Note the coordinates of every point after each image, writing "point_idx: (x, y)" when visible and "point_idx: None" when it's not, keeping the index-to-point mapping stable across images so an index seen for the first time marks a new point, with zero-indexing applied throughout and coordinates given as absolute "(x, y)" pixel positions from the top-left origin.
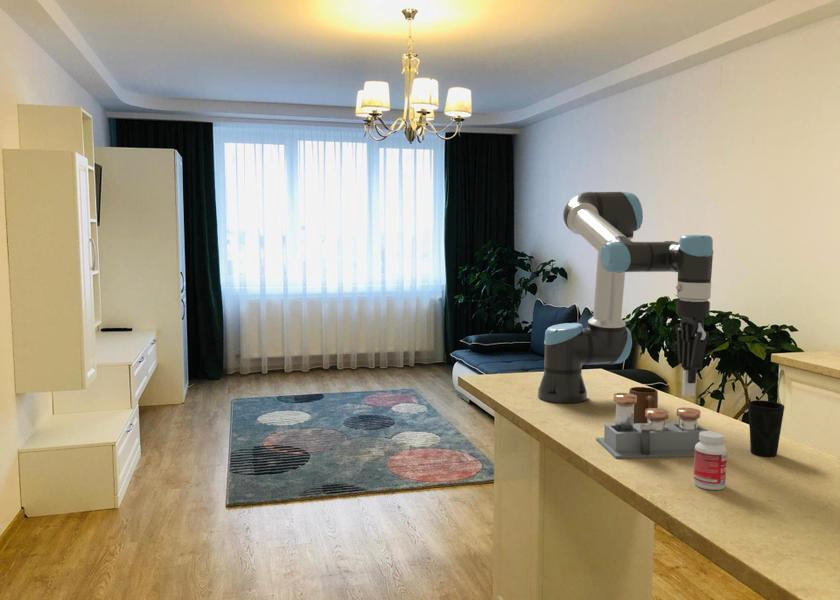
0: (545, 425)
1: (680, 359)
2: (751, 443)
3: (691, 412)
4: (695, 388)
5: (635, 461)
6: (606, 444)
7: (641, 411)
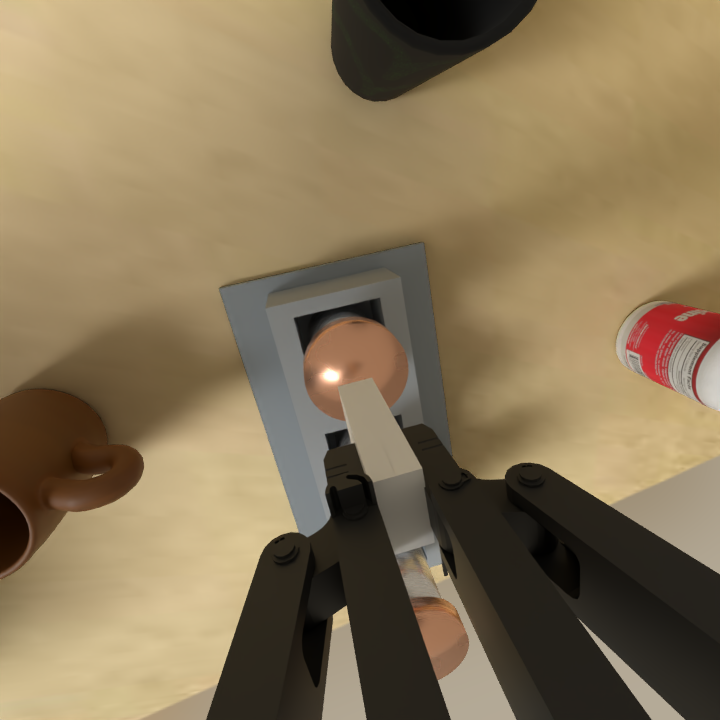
0: (190, 674)
1: (328, 635)
2: (390, 95)
3: (396, 369)
4: (382, 396)
5: (478, 477)
6: None
7: (84, 478)
